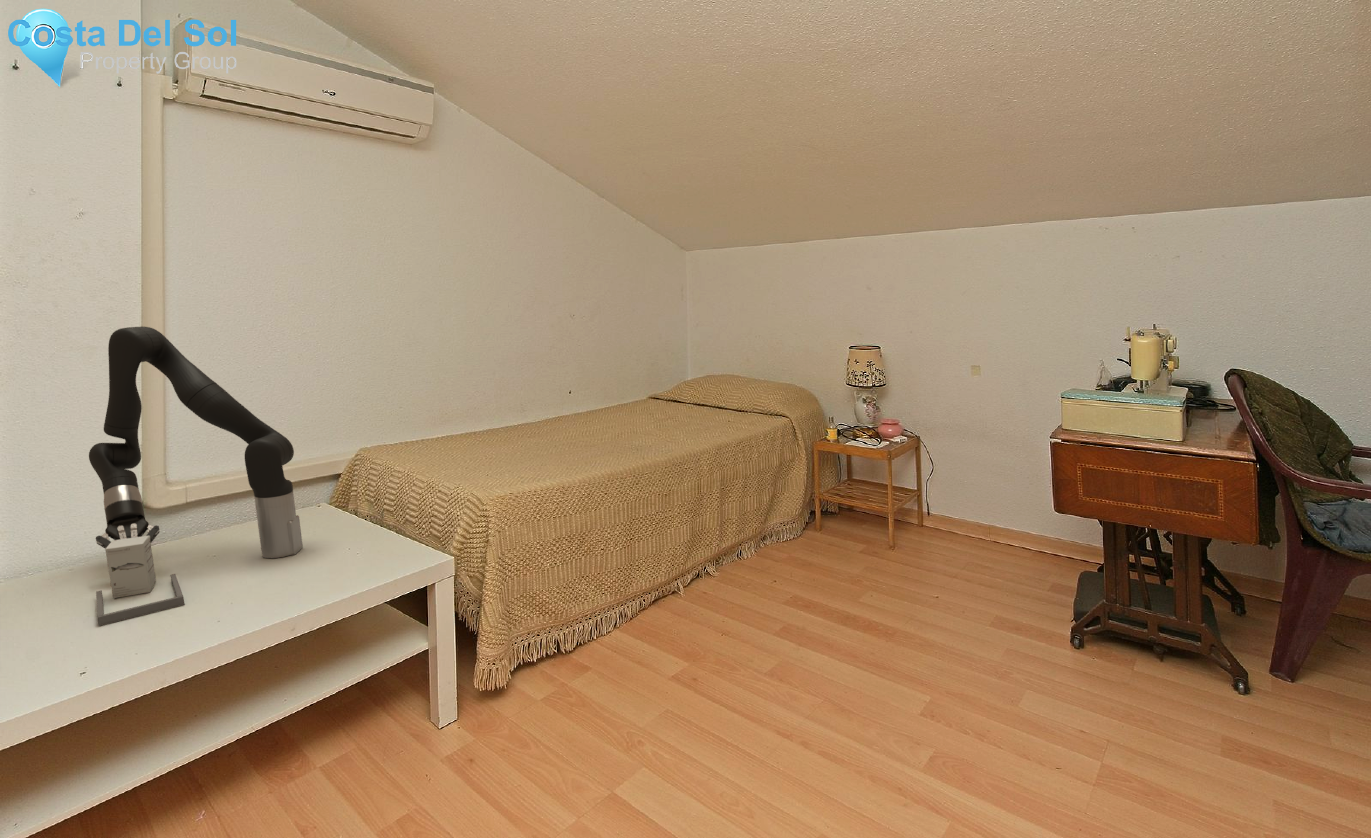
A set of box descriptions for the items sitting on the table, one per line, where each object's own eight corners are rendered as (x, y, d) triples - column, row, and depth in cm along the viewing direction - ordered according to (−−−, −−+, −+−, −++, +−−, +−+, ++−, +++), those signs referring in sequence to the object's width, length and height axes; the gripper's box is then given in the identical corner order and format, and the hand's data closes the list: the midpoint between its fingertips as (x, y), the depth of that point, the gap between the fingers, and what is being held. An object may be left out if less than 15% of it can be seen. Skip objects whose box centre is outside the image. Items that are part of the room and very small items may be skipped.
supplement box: (112, 599, 156) (103, 549, 153) (120, 588, 162) (111, 539, 160) (151, 592, 159) (143, 543, 157) (157, 581, 165) (150, 534, 163)
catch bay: (97, 599, 156) (96, 591, 155) (176, 581, 166) (175, 573, 165) (98, 626, 142) (97, 617, 142) (184, 604, 152) (183, 596, 152)
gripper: (87, 504, 163) (96, 565, 156) (155, 494, 172) (166, 550, 165) (91, 519, 168) (99, 579, 161) (157, 508, 177) (167, 564, 170)
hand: (133, 564), depth 163 cm, fingers closed
